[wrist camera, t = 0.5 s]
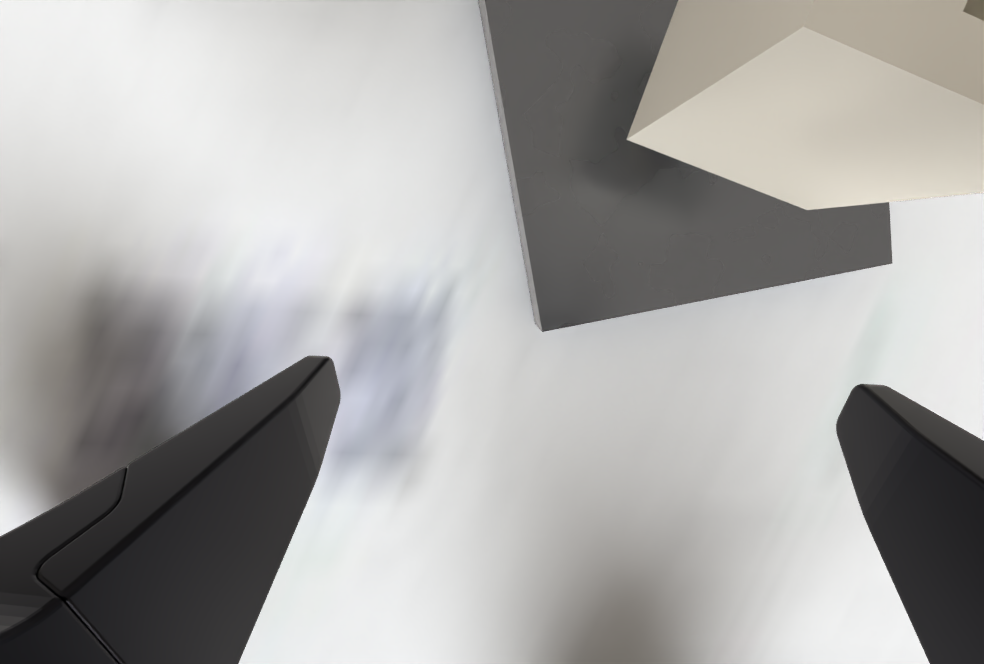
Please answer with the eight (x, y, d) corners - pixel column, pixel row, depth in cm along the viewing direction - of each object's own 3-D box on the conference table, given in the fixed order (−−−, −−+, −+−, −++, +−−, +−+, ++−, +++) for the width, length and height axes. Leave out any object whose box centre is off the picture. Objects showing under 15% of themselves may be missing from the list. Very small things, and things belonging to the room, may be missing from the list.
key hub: (854, 261, 22) (995, 267, 16) (535, 323, 22) (561, 353, 16) (831, -101, 20) (986, -247, 14) (471, -37, 20) (475, -158, 14)
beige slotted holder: (807, 210, 16) (1152, 176, 8) (626, 139, 15) (805, 24, 7) (893, 8, 15) (1378, -257, 7) (706, -75, 14) (1007, -471, 6)
